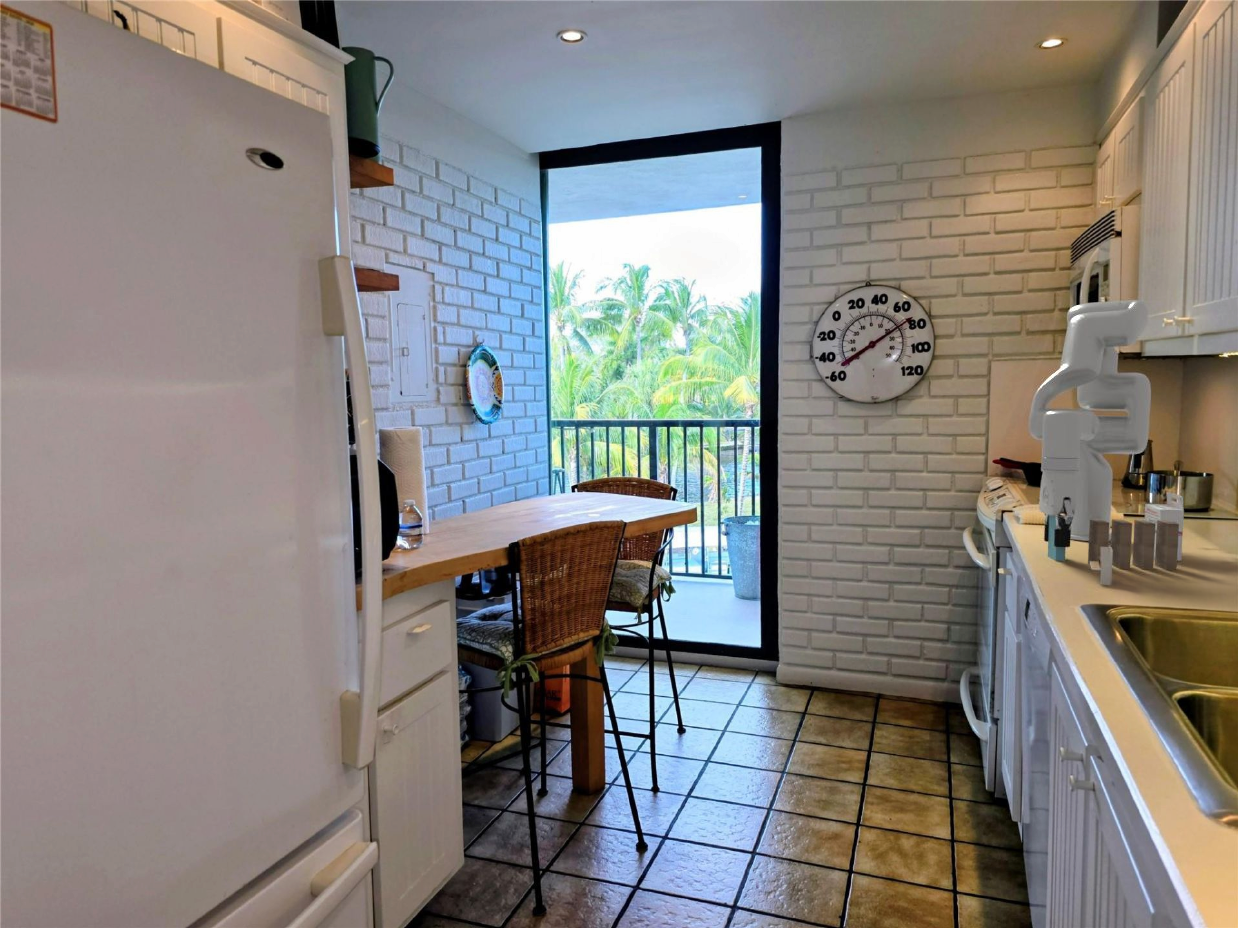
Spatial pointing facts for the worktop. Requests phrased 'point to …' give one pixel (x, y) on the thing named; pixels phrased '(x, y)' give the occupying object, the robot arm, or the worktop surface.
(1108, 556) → the architectural model
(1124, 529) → the domino
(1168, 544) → the domino
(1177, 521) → the ink cartridge box
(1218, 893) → the worktop surface
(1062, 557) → the domino
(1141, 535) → the domino
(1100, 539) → the domino
